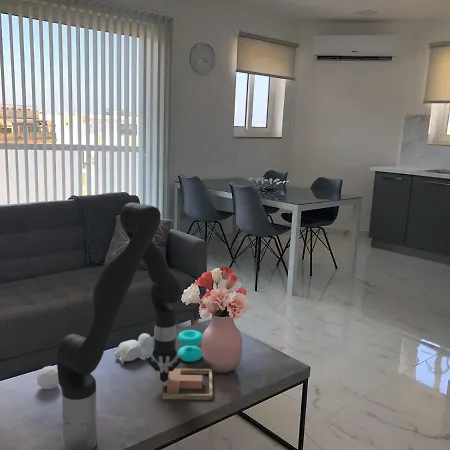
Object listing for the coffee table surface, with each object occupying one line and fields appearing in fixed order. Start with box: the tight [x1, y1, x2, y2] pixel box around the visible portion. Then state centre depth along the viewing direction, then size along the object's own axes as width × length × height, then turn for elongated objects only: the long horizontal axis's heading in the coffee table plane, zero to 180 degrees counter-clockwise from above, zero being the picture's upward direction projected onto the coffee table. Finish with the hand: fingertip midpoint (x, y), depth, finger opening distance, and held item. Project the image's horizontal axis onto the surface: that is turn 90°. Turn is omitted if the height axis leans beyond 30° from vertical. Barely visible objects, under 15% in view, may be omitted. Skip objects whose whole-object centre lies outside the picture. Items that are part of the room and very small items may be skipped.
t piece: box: [166, 368, 203, 394], centre depth 174 cm, size 12×12×3 cm
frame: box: [161, 367, 214, 401], centre depth 174 cm, size 18×17×2 cm
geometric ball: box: [36, 365, 60, 391], centre depth 168 cm, size 8×8×8 cm
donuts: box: [177, 329, 203, 363], centre depth 193 cm, size 10×10×10 cm
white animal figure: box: [114, 332, 153, 365], centre depth 192 cm, size 9×8×15 cm
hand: (164, 380), depth 173 cm, fingers closed
